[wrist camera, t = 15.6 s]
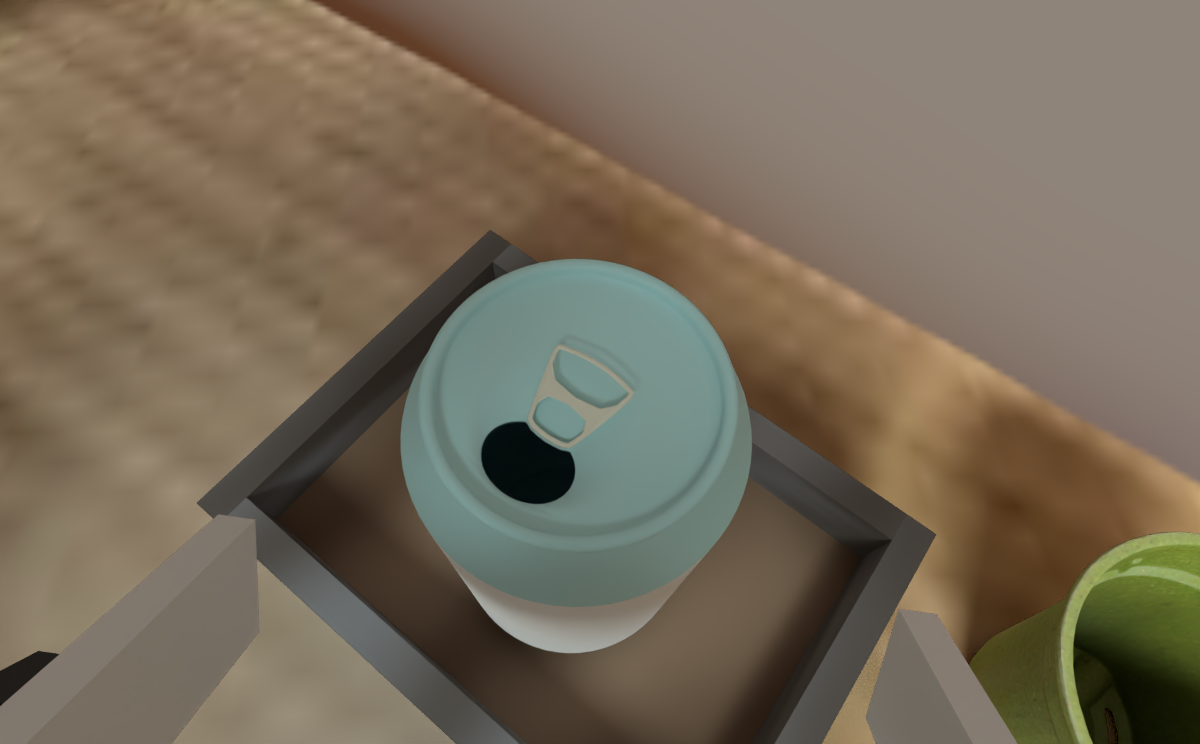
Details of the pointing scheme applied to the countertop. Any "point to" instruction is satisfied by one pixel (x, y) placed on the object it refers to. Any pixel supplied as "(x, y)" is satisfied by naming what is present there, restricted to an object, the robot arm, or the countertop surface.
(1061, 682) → the plant pot
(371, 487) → the grey rectangular tray
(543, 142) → the countertop surface
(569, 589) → the can
